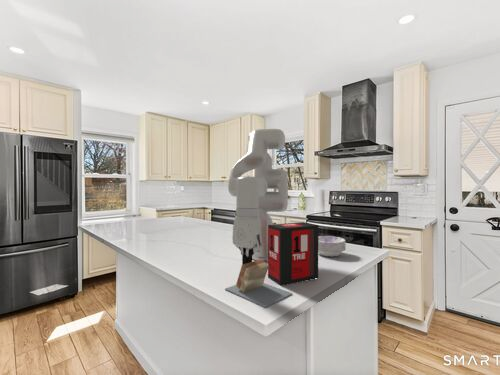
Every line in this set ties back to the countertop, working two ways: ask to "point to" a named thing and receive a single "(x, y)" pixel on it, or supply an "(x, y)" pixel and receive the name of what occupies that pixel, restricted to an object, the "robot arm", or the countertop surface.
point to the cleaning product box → (292, 252)
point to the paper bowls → (331, 245)
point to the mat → (261, 294)
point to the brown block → (252, 275)
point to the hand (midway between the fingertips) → (247, 266)
